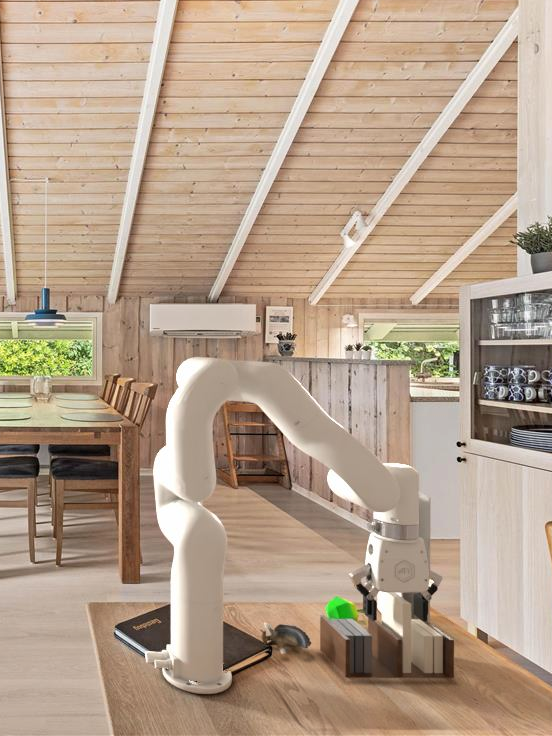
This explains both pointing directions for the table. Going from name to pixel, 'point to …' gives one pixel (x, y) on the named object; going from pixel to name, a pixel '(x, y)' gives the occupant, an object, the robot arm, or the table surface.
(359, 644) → the grey books
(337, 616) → the apple
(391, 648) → the book rack
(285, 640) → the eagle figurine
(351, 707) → the table surface
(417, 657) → the white books
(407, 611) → the white book
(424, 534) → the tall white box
